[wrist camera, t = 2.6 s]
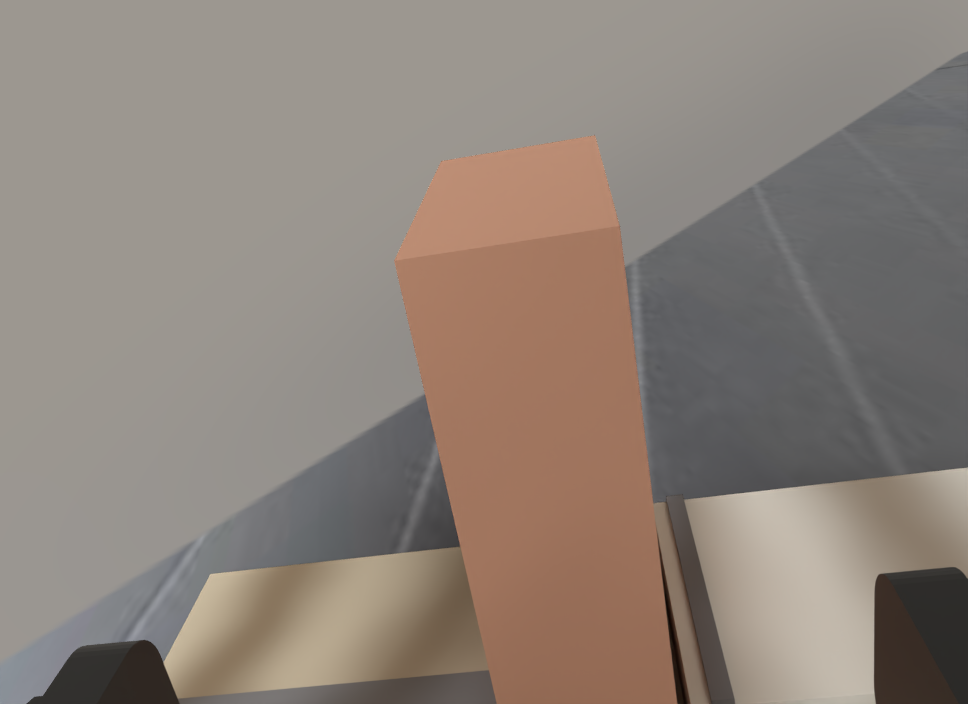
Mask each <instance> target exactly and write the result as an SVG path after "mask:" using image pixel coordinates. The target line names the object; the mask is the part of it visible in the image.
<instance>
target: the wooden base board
mask: <svg viewBox="0 0 968 704" xmlns="http://www.w3.org/2000/svg"><path fill="white" fill-rule="evenodd" d="M666 501H667V502H660V503H653V506H654V514H655V523H656V531H657V539H658V547H659V556H660V564H661V572H662V581H663V589H664V597H665V606H666V614H667V622H668V630H669V639H670V647H671V655H672V664H673V672H674V680H675V689H676V697H677V704H876V701H875V693H874V592H875V582H876V578H877V576H878V575H879V574H882V573H893V572H903V571H914V570H925V569H935V568H946V567H956V568H958V569H960V570H961V571H962V572H963V573H964V574H965V576H966V577H967V578H968V468H960V469H951V470H942V471H934V472H925V473H916V474H907V475H898V476H890V477H881V478H872V479H863V480H854V481H845V482H837V483H828V484H819V485H810V486H801V487H792V488H784V489H775V490H766V491H757V492H748V493H740V494H731V495H722V496H713V497H704V498H695V499H687V500H684V498H683V494H682V495H673V496H666ZM164 666H165V668H166V671H167V673H168V676H169V678H170V681H171V683H172V686H173V688H174V691H175V693H176V696H177V698H178V701H179V703H180V704H497V703H496V699H495V694H494V690H493V686H492V681H491V677H490V673H489V668H488V664H487V660H486V655H485V651H484V647H483V642H482V638H481V634H480V629H479V625H478V621H477V616H476V612H475V608H474V603H473V599H472V595H471V590H470V586H469V582H468V577H467V573H466V569H465V564H464V560H463V556H462V552H461V547H452V548H443V549H434V550H425V551H416V552H407V553H398V554H389V555H380V556H371V557H362V558H353V559H343V560H334V561H325V562H316V563H307V564H298V565H289V566H280V567H271V568H262V569H253V570H244V571H235V572H225V573H216V574H210V576H209V578H208V580H207V582H206V584H205V586H204V587H203V589H202V591H201V593H200V595H199V597H198V599H197V601H196V603H195V604H194V606H193V608H192V610H191V612H190V614H189V616H188V618H187V620H186V621H185V623H184V625H183V627H182V629H181V631H180V633H179V635H178V637H177V638H176V640H175V642H174V644H173V646H172V648H171V650H170V652H169V654H168V655H167V657H166V659H165V661H164Z"/></svg>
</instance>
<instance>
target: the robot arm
mask: <svg viewBox="0 0 968 704" xmlns="http://www.w3.org/2000/svg"><path fill="white" fill-rule="evenodd" d="M874 693H875V701H876V704H968V578H967V577H966V576H965V574H964V573H963V572H962V571H961V570H960V569H958V568H956V567H946V568H935V569H925V570H914V571H903V572H893V573H882V574H879V575H878V576H877V578H876V582H875V592H874ZM27 704H180V703H179V701H178V698H177V696H176V693H175V691H174V688H173V686H172V683H171V681H170V678H169V676H168V673H167V671H166V668H165V666H164V663H163V661H162V658H161V656H160V654H159V652H158V650H157V648H156V647H155V645H153V644H152V643H151V642H149V641H146V640H140V641H129V642H119V643H108V644H97V645H87V646H82V647H80V648H78V649H77V650H75V651H74V652H73V653H72V654H71V656H70V657H69V658H68V660H67V661H66V663H65V664H64V666H63V667H62V669H61V670H60V671H59V673H58V674H57V676H56V677H55V679H54V680H53V682H52V683H51V685H50V686H49V688H48V689H47V691H46V692H45V694H44V695H43V696H39V697H34V698H33V699H31V700H30V701H29V702H28V703H27Z"/></svg>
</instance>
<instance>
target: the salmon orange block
mask: <svg viewBox="0 0 968 704" xmlns="http://www.w3.org/2000/svg"><path fill="white" fill-rule="evenodd" d="M394 261H395V266H396V270H397V274H398V279H399V283H400V288H401V292H402V296H403V301H404V305H405V309H406V314H407V318H408V322H409V326H410V331H411V335H412V339H413V344H414V348H415V353H416V357H417V361H418V365H419V370H420V374H421V379H422V383H423V387H424V391H425V396H426V400H427V404H428V409H429V413H430V417H431V422H432V426H433V430H434V435H435V439H436V443H437V448H438V452H439V456H440V461H441V465H442V469H443V474H444V478H445V482H446V487H447V491H448V495H449V500H450V504H451V508H452V513H453V517H454V521H455V526H456V530H457V534H458V539H459V543H460V547H461V552H462V556H463V560H464V564H465V569H466V573H467V577H468V582H469V586H470V590H471V595H472V599H473V603H474V608H475V612H476V616H477V621H478V625H479V629H480V634H481V638H482V642H483V647H484V651H485V655H486V660H487V664H488V668H489V673H490V677H491V681H492V686H493V690H494V694H495V699H496V703H497V704H677V697H676V689H675V680H674V672H673V664H672V655H671V647H670V639H669V630H668V622H667V614H666V606H665V597H664V589H663V581H662V572H661V564H660V556H659V547H658V539H657V531H656V523H655V514H654V506H653V498H652V489H651V481H650V473H649V465H648V456H647V448H646V440H645V431H644V423H643V415H642V406H641V398H640V390H639V382H638V373H637V365H636V357H635V348H634V340H633V332H632V323H631V315H630V307H629V299H628V290H627V282H626V274H625V265H624V257H623V249H622V241H621V232H620V225H619V222H618V218H617V214H616V210H615V207H614V203H613V200H612V196H611V192H610V189H609V185H608V181H607V177H606V174H605V170H604V167H603V163H602V159H601V155H600V152H599V149H598V144H597V141H596V137H595V136H588V137H583V138H576V139H570V140H564V141H558V142H552V143H547V144H541V145H535V146H529V147H523V148H517V149H511V150H506V151H499V152H493V153H487V154H481V155H475V156H469V157H463V158H458V159H451V160H445V161H441V163H440V165H439V167H438V169H437V171H436V174H435V176H434V178H433V180H432V182H431V184H430V186H429V188H428V190H427V193H426V194H425V197H424V199H423V201H422V204H421V205H420V207H419V209H418V211H417V214H416V216H415V218H414V220H413V222H412V224H411V226H410V228H409V231H408V233H407V235H406V237H405V239H404V241H403V243H402V245H401V248H400V250H399V252H398V254H397V256H396V258H395V260H394Z"/></svg>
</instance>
